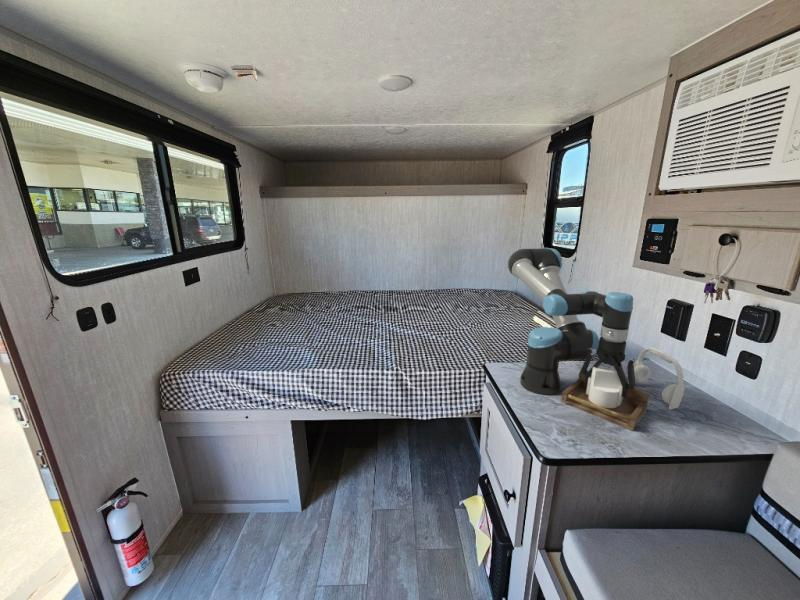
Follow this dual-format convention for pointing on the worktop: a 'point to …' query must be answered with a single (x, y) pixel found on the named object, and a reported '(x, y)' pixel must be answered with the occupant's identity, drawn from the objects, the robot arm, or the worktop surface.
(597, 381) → the cylinder with rectangular tab
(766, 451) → the worktop surface
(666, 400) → the headset
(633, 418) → the caddy
